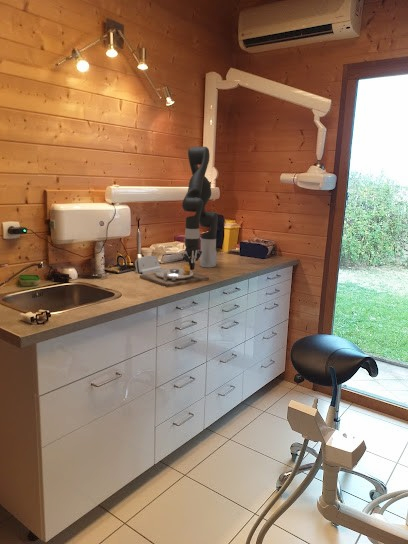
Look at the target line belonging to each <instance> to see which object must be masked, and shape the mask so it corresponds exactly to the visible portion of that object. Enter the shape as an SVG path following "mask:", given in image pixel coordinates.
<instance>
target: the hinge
mask: <svg viewBox="0 0 408 544" xmlns="http://www.w3.org/2000/svg"><path fill="white" fill-rule="evenodd" d="M134 264H135V270H136V271H135V272H136V274H139V273H142V274H141V275H145V274H151V273H156V271H157V270H159V269H163V267H162V266H161V264H160V262H159V258H158V257H157V256H156V255H155V256H154V255H145V256H141V257H139V258H138V259H136V260H134Z"/></svg>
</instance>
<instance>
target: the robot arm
mask: <svg viewBox="0 0 408 544" xmlns="http://www.w3.org/2000/svg"><path fill="white" fill-rule="evenodd" d="M187 156H188V162H189V167H190V169H191V174H192V176H191V177H190V179H189V182H188V188H187V192H186V193H185V194H186V195H185V196H184V198H183V200H182V205H181V206H182V210H183V211H185V212H188V213H189V212H190V213H191V212H192V213H195V214H194V215H190V216H187V217H185V232H184V246H185V248H184V252H182V253H181V257H183V259H184V261H185V262H186V263H188V265H190V270H191V271H193V270H195V269H196V268H195V265H196V262H198V260H199V262H200V263H199V266H200V267H202V268H215V267H216V266H217V255H218V252H217V233H218V222H219V216H218V215H219V214H218V213H217V212H215V211H206V210H205V209H206V208H205V207H206V206H207V204H208V202H209V200H210V199H211V196H212V187H211V183H210V181H209V179H208V178H207V177H206V173H207V169H208V166H209V163H210V150H209V148H208V147H207V146H191V147H189V148H188V151H187ZM199 165H200V166H199ZM200 227H203V228H210V229H209V230H208V231H205V232H202V233H200ZM200 234H201V235H200ZM199 247H200V248H199Z"/></svg>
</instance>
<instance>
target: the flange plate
mask: <svg viewBox="0 0 408 544" xmlns="http://www.w3.org/2000/svg"><path fill="white" fill-rule="evenodd" d="M164 272H167V279H172V280H176V279H186V278H191V277H193V273H194V271H193V270H190V265H189V264H184V265H183V268H178V267H166V268H162V269H159V270H157V271H156V272H155V273H156V276H158V277H161V278H164Z"/></svg>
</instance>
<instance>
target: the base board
mask: <svg viewBox="0 0 408 544" xmlns="http://www.w3.org/2000/svg"><path fill="white" fill-rule="evenodd" d="M139 279H142V280H144V281H146V282H147V281H148V282H150V283H154V284H156V285H159V286H163V287H164V286H165V288H171V287H177V286H181V285H182V286H183V285H188V284H195V283H201V282H205V281H206V282H207V281H209V280H210V276H206V275H202V274H199V273H196V272H193V277H191V278H186V279H176V280H172V279H167V272H164V278H161V277H158V276H156V272H152V273H148V274H139Z"/></svg>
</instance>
